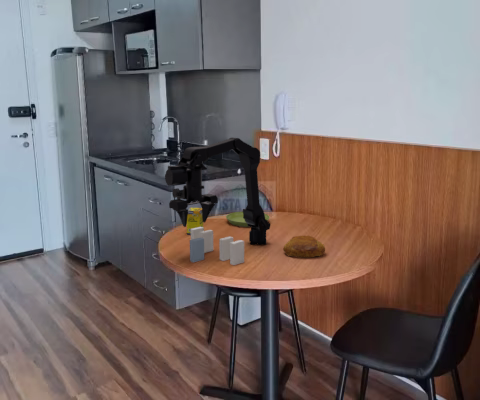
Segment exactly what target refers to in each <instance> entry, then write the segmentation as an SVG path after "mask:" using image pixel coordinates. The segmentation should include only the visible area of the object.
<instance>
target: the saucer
mask: <svg viewBox="0 0 480 400" xmlns="http://www.w3.org/2000/svg"><path fill="white" fill-rule="evenodd" d="M264 214H265V219H266V220H267V221H268V222H269V219H270V215H269V214H266V213H264ZM225 217H226V220H227V221H228V222H229V223H230V224H231V225H233V226H237V227H241V228H242V227H244V228H249V227H248V225H247V223H246V222H245V219H243V211H236V212H235V211H234V212H231V213H228V214H226V216H225Z"/></svg>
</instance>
